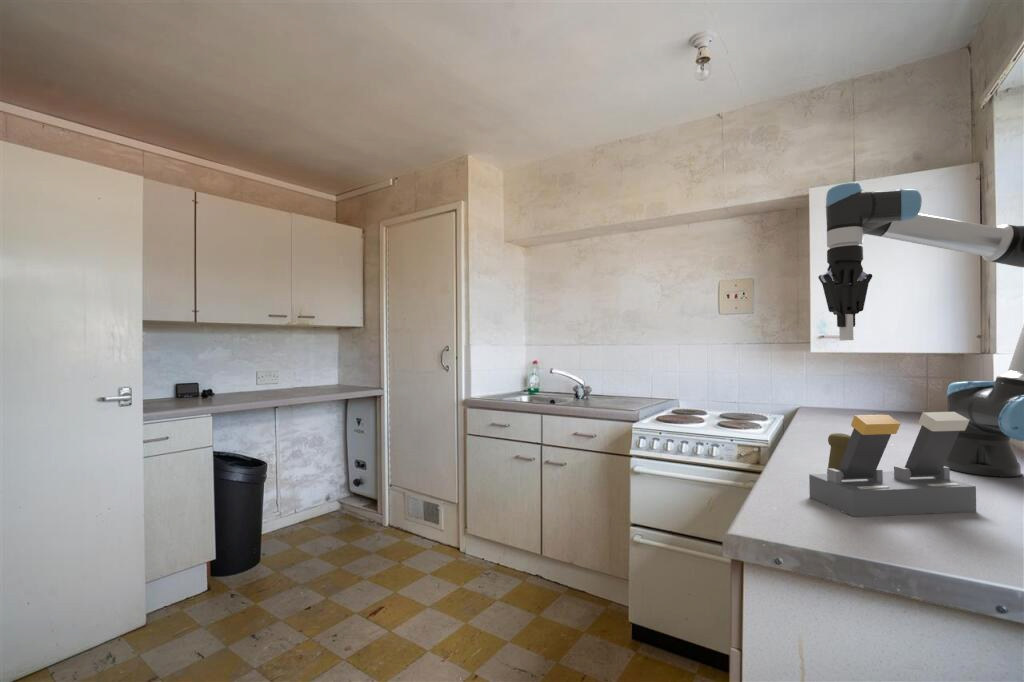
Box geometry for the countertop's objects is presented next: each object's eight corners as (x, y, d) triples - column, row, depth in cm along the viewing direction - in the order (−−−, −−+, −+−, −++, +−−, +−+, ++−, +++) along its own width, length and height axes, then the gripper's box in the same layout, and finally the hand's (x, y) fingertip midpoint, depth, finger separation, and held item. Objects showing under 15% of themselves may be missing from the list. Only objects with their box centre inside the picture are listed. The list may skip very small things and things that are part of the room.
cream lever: (898, 471, 101) (922, 412, 96) (928, 470, 102) (954, 411, 96) (911, 481, 98) (936, 420, 93) (942, 480, 99) (969, 420, 93)
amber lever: (832, 473, 100) (854, 415, 94) (863, 472, 101) (887, 414, 95) (843, 484, 97) (866, 424, 91) (874, 483, 98) (900, 423, 92)
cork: (846, 474, 121) (845, 431, 121) (861, 481, 115) (860, 436, 115) (821, 474, 122) (820, 431, 122) (835, 481, 116) (834, 436, 116)
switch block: (919, 492, 106) (919, 459, 106) (976, 511, 94) (975, 473, 94) (809, 497, 104) (809, 462, 104) (853, 516, 92) (852, 478, 92)
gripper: (856, 250, 125) (858, 340, 124) (809, 250, 124) (811, 340, 123) (881, 244, 117) (883, 339, 117) (831, 243, 116) (833, 340, 116)
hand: (846, 340), depth 120 cm, fingers closed
